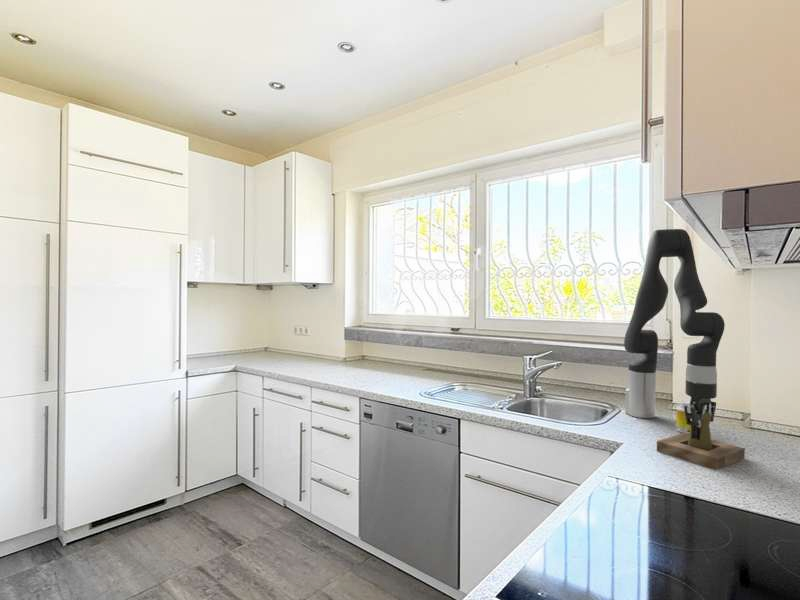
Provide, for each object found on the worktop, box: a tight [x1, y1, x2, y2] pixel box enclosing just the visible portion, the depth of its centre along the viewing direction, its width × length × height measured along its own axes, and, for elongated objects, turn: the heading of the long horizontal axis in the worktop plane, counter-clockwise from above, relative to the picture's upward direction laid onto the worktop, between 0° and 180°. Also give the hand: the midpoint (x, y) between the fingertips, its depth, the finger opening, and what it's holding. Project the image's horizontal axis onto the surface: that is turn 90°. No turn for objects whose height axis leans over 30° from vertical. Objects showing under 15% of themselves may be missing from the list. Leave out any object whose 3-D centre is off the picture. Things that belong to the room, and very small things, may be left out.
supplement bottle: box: [675, 400, 691, 434], centre depth 147 cm, size 6×6×10 cm
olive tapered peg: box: [688, 411, 712, 451], centre depth 126 cm, size 6×6×11 cm
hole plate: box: [656, 432, 746, 471], centre depth 127 cm, size 16×16×3 cm
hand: (699, 437), depth 127 cm, fingers closed on olive tapered peg, 4 cm apart
